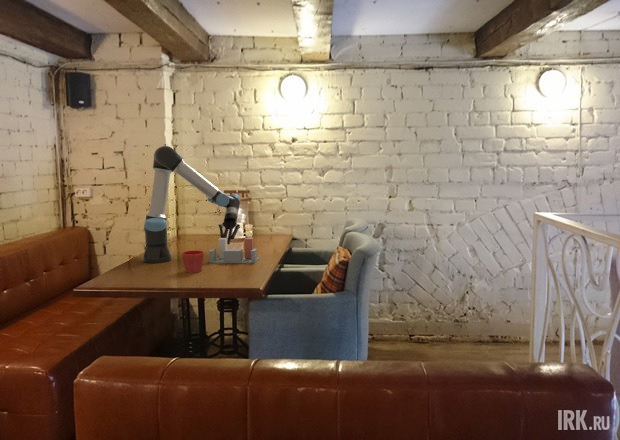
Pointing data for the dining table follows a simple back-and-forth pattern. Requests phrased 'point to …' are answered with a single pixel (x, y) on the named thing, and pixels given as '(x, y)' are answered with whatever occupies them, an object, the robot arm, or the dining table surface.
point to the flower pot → (193, 261)
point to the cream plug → (222, 247)
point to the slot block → (232, 256)
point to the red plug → (248, 247)
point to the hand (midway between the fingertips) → (225, 248)
